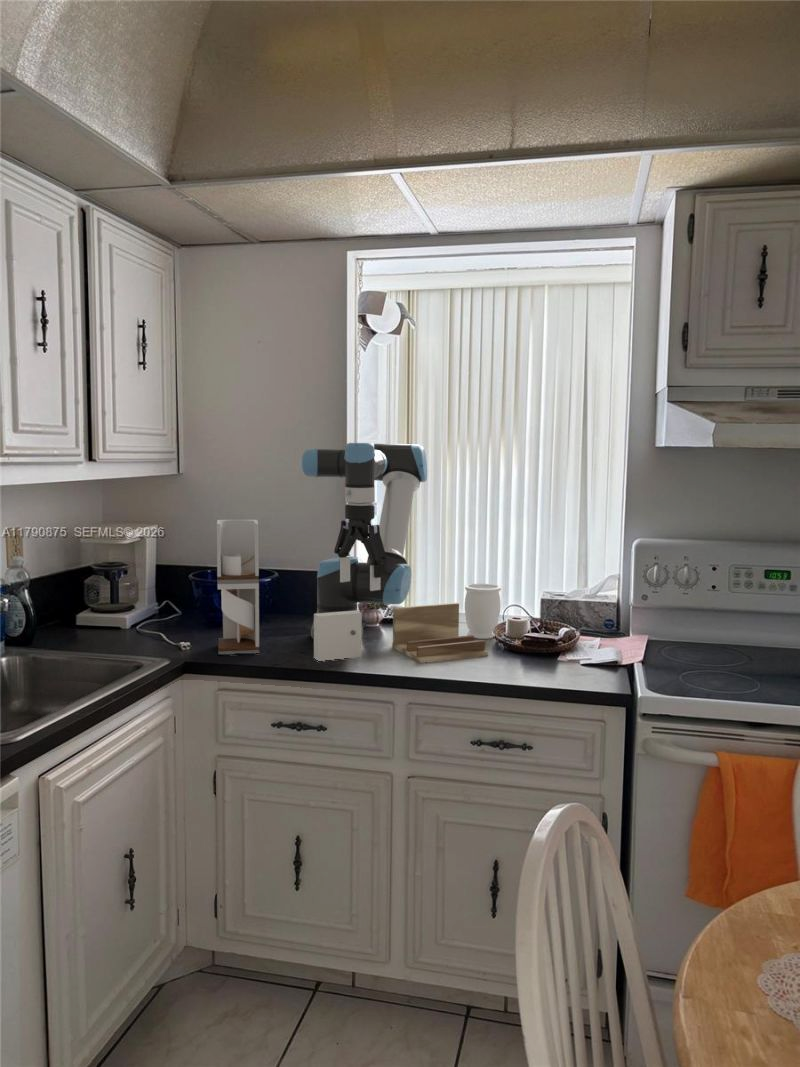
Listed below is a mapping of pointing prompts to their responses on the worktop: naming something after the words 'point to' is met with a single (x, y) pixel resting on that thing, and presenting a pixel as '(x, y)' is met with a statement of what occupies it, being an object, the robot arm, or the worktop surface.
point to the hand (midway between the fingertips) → (359, 585)
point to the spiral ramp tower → (238, 585)
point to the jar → (482, 609)
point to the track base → (433, 633)
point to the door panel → (337, 635)
